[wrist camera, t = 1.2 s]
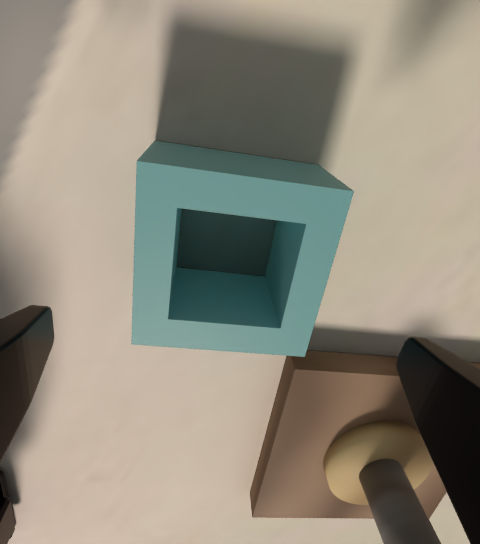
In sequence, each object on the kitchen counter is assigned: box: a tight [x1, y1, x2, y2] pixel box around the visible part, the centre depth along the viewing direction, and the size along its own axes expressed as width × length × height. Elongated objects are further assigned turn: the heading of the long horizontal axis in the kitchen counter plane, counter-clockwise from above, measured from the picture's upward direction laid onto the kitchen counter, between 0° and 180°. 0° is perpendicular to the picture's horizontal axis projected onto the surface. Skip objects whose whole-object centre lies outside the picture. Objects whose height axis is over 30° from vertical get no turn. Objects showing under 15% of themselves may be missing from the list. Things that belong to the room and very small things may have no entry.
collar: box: [132, 141, 354, 357], centre depth 14 cm, size 6×6×4 cm
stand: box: [250, 350, 480, 544], centre depth 19 cm, size 12×12×7 cm
